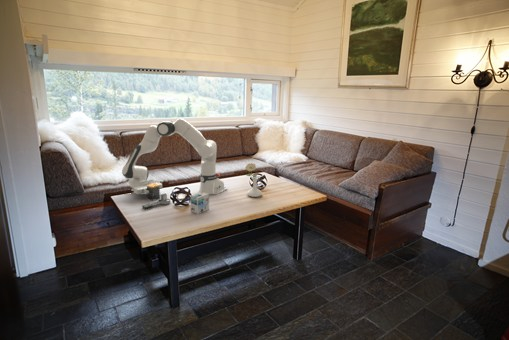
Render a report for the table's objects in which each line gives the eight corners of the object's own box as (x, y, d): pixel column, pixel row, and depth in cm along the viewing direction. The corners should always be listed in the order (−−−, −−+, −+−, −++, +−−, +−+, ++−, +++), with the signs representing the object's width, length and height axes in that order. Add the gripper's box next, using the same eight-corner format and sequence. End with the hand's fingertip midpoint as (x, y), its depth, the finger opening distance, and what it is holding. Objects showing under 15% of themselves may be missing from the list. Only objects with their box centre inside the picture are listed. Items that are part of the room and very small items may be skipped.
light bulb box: (198, 214, 191) (197, 198, 188) (190, 211, 195) (189, 195, 192) (209, 209, 200) (209, 193, 197) (202, 206, 203) (201, 191, 200)
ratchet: (166, 200, 213) (165, 190, 211) (172, 203, 208) (172, 193, 206) (140, 207, 199) (140, 197, 197) (147, 210, 194) (146, 200, 192)
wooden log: (155, 196, 219) (154, 183, 217) (159, 198, 216) (159, 185, 213) (147, 198, 215) (146, 185, 212) (152, 200, 211) (151, 186, 209)
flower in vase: (262, 193, 232) (263, 161, 226) (261, 198, 221) (262, 165, 215) (245, 192, 233) (246, 160, 227) (243, 197, 222) (244, 164, 216)
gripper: (129, 185, 213) (140, 189, 205) (155, 179, 229) (166, 183, 220) (130, 193, 215) (140, 198, 206) (156, 187, 230) (166, 191, 222)
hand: (154, 190), depth 213 cm, fingers closed on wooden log, 6 cm apart
